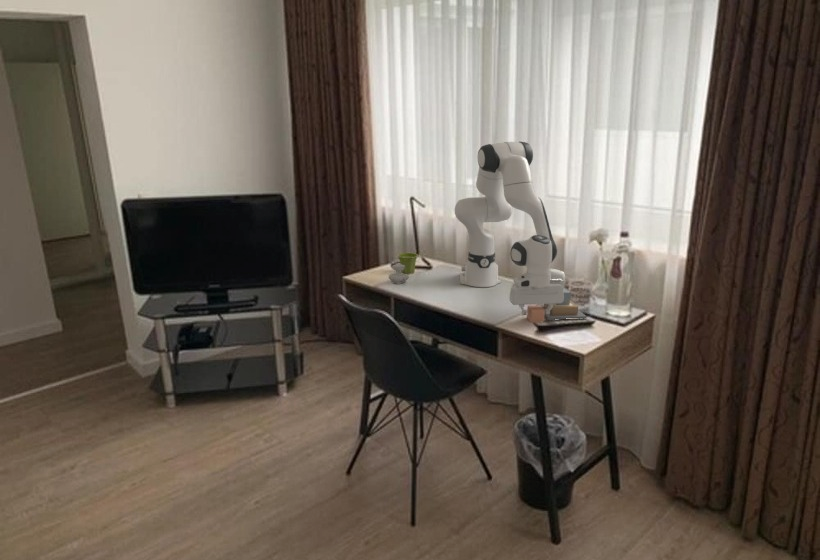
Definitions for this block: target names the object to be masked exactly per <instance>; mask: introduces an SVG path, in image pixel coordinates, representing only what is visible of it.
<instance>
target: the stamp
mask: <svg viewBox="0 0 820 560" xmlns="http://www.w3.org/2000/svg"><path fill="white" fill-rule="evenodd" d="M391 268H392V270H393V271H395V272H394V273H392V274H391V273H390V274H388V279H389V280H390V282H391V283H394V284H397V285H400V284H403V283H406V282H407V280H408V279H409V278H410V276H409V274H403V273H402V272H401V271H402V270H404V268H405V265H401V264H400V263H396V264H393V265H392V266H391Z"/></svg>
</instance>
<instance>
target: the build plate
mask: <svg viewBox="0 0 820 560" xmlns="http://www.w3.org/2000/svg"><path fill="white" fill-rule="evenodd" d="M537 305H541V306H542V307H543V308H544V309H547V308H548V306H549V305H548V304H537ZM566 318H586V319H587V315H586V314H584V313H583V312H582V311H581V310H580V309H579V306H578V305H577V304H576V303H574V302H573V301H572V300H571V299H570V305H556V304H553V307H552V309H551V310H550V314H549V315H546V314H545V313H544V319H546V320H547V321H548V320H553V321H556V320H555V319H566Z"/></svg>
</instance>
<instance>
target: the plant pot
mask: <svg viewBox="0 0 820 560" xmlns="http://www.w3.org/2000/svg"><path fill="white" fill-rule="evenodd" d="M397 257H398V259H399V264H401V265H405V268H404V270H402V271H401V273H403V274H407V275H412V274H414V273H415V271H416V270H415V269H416V262H417V258H418V257H419V255H418V253H415V252H402V253H399V254H398V255H397Z"/></svg>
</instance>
